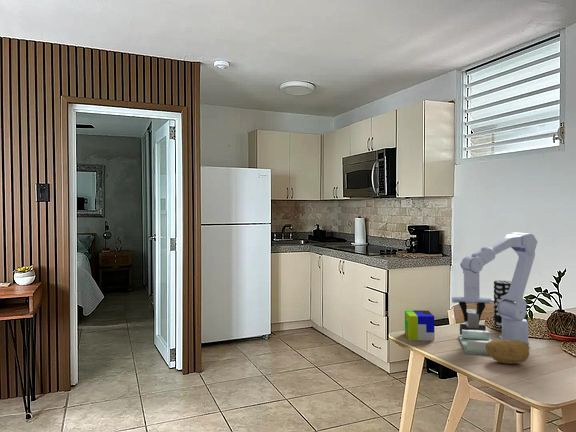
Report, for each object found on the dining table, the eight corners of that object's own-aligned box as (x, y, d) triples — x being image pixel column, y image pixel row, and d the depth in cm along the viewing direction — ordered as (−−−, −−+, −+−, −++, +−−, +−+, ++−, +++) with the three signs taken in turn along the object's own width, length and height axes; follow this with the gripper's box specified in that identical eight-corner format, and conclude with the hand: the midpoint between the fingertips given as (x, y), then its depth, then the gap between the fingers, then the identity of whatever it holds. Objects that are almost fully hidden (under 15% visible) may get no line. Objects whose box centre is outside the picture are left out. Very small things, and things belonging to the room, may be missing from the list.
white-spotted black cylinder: (496, 328, 200) (496, 283, 199) (491, 323, 208) (491, 280, 207) (516, 328, 198) (516, 283, 198) (510, 323, 207) (510, 280, 206)
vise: (490, 340, 182) (490, 331, 182) (500, 355, 164) (500, 344, 164) (458, 339, 185) (458, 329, 184) (465, 353, 167) (465, 342, 167)
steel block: (475, 322, 180) (475, 309, 180) (479, 328, 173) (479, 314, 172) (464, 322, 181) (464, 308, 181) (467, 327, 174) (467, 313, 173)
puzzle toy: (434, 340, 183) (434, 316, 183) (409, 340, 184) (409, 316, 184) (428, 333, 193) (428, 310, 193) (404, 333, 194) (404, 310, 194)
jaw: (485, 335, 187) (485, 324, 187) (489, 340, 179) (489, 330, 179) (459, 333, 189) (459, 323, 189) (462, 339, 181) (462, 328, 181)
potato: (482, 357, 163) (482, 335, 163) (525, 359, 160) (525, 337, 160) (488, 366, 154) (488, 343, 154) (533, 369, 151) (533, 346, 150)
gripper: (453, 288, 174) (453, 323, 175) (493, 289, 171) (493, 324, 171) (451, 285, 181) (451, 318, 182) (489, 286, 178) (490, 320, 178)
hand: (471, 321), depth 177 cm, fingers closed on steel block, 4 cm apart
